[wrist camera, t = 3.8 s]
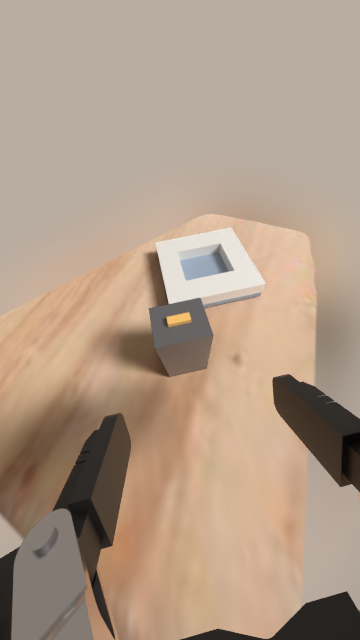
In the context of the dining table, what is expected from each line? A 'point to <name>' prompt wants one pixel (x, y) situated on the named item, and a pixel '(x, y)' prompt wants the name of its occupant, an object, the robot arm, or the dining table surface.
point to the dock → (208, 269)
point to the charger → (181, 336)
